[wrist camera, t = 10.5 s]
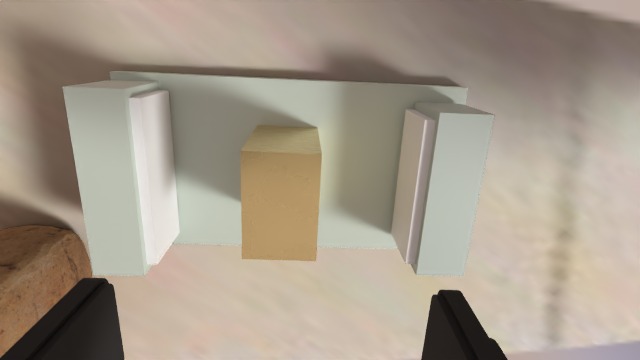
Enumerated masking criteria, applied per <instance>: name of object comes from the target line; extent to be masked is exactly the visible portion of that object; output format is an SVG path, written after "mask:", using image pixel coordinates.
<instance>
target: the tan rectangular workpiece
mask: <svg viewBox="0 0 640 360" xmlns="http://www.w3.org/2000/svg"><path fill="white" fill-rule="evenodd" d="M240 154H241V224H242V259H265V260H302V261H316V253H317V235H318V217H319V200H320V182H321V164H322V151H321V145H320V139H319V133H318V128H315V127H293V126H271V125H257V126H256V128H255V129H254V131H253V132H252V134H251V135H250V137H249V139H248V140H247V142H246V143H245V145H244V146H243V148H242V149H241V151H240Z"/></svg>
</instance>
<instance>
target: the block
mask: <svg viewBox="0 0 640 360" xmlns="http://www.w3.org/2000/svg"><path fill="white" fill-rule="evenodd" d="M83 278H92V272H91V266H90V260H89V257H88V255H87V252H86V249H85V246H84V243H83V241H82V240H81V239H80V237H79V236H78V235H76V234H75V233H74V232H73V231H69V230H64V229H59V228H55V227H51V226H40V225H27V226H18V227H11V228H7V229H3V230H0V357H2V356H3V355H4V354H5V353H6V352H7V351H8V350H9V349H10V348H11V347H12V346H13V345H14V344H15V343H16V342H17V341H18V340H19V339H20V338H21V337H22V336H23V335H24V334H25V333H26V332H27V331H28V330H29V329H30V328H31V327H32V326H34V325H35V324H36V323H37V322H38V321H39V320H40V319H41V318H42V317H43V316H44V315H45V314H46V313H47V312H48V311H49V310H50V309H51V308H52V307H53V306H54V305H55V304H56V303H57V302H58V301H59V300H60V299H61V298H62V297H63V296H64V295H65V294H67V293H68V292H69V291H70V290H71V289H72V288H73V287H74V286H75V285H76V284H77V283H78V282H79V281H80V280H81V279H83Z"/></svg>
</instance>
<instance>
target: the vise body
mask: <svg viewBox="0 0 640 360" xmlns="http://www.w3.org/2000/svg"><path fill="white" fill-rule="evenodd" d="M62 88H63V94H64V100H65V106H66V112H67V118H68V124H69V130H70V136H71V142H72V148H73V154H74V160H75V166H76V172H77V178H78V184H79V191H80V197H81V203H82V209H83V215H84V221H85V227H86V233H87V239H88V245H89V251H90V257H91V263H92V269H93V275H112V276H145V275H146V274H147V272H148V271H149V269H150V268H151V267H152V265H157V264H158V263H159V261H160V260H161V259H162V257H163V256H164V254H165V253H166V251H167V250H168V248H169V247H170V246H171V244H204V245H242V224H241V154H240V151H241V149H242V148H243V146H244V145H245V143H246V142H247V140H248V139H249V137H250V135H251V134H252V132H253V131H254V129H255V128H256V126H257V125H271V126H293V127H315V128H318V133H319V139H320V145H321V151H322V164H321V182H320V200H319V217H318V235H317V247H333V248H375V249H398V247H397V245H396V243H395V240H394V238H393V236H392V234H391V229H392V221H393V212H394V204H395V195H396V187H397V179H398V170H399V162H400V153H401V145H402V136H403V128H404V119H405V111H406V109H413V110H414V108H415V102H434V103H457V104H463V105H466V99H467V93H468V88H466V87H461V86H440V85H418V84H397V83H375V82H353V81H332V80H310V79H288V78H266V77H245V76H223V75H201V74H180V73H158V72H136V71H110V80H105V81H98V82H91V83H84V84H77V85H69V86H62Z"/></svg>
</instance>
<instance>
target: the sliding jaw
mask: <svg viewBox="0 0 640 360" xmlns="http://www.w3.org/2000/svg"><path fill="white" fill-rule="evenodd" d="M494 117H495V115H493V114H490V113H487V112H484V111H481V110H478V109H475V108H472V107H469V106H466V105H463V104H457V103H434V102H415V108H414V110H413V109H406V111H405V119H404V128H403V136H402V145H401V153H400V162H399V170H398V179H397V187H396V195H395V204H394V212H393V221H392V229H391V234H392V236H393V238H394V240H395V243H396V245H397V247H398V249H399V251H400V253H401V255H402V257H403V259H404V261H405V263H406V264H411V266H412V268H413V270H414V272H415V274H416V275H431V276H464V272H465V267H466V262H467V257H468V252H469V246H470V241H471V236H472V231H473V226H474V221H475V215H476V210H477V205H478V200H479V195H480V190H481V185H482V179H483V174H484V169H485V164H486V159H487V154H488V148H489V143H490V138H491V133H492V128H493V123H494Z"/></svg>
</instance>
